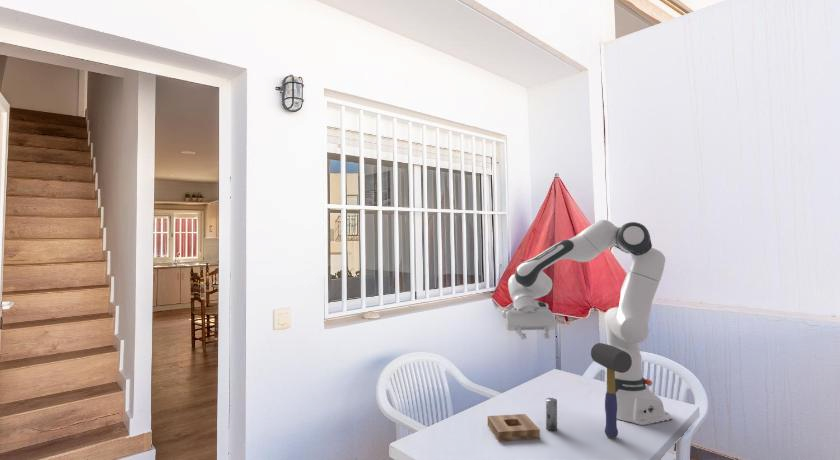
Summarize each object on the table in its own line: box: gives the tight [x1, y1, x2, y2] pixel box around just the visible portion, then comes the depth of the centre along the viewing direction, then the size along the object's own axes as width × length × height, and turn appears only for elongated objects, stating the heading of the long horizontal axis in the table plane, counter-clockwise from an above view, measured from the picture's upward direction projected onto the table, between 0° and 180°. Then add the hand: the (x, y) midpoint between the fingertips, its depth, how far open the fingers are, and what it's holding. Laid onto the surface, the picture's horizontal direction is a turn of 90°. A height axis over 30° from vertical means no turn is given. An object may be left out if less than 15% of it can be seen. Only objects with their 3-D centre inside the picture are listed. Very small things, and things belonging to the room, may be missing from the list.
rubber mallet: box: [590, 342, 632, 439], centre depth 135 cm, size 12×8×30 cm, turn 14°
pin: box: [545, 397, 558, 432], centre depth 140 cm, size 4×4×10 cm
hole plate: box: [487, 413, 541, 442], centre depth 139 cm, size 14×12×3 cm
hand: (535, 338), depth 156 cm, fingers open, 8 cm apart
